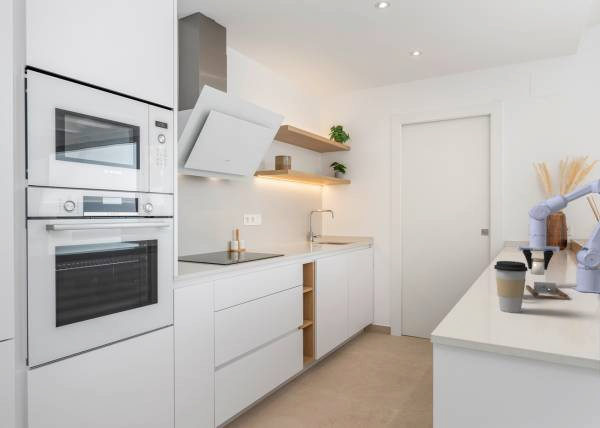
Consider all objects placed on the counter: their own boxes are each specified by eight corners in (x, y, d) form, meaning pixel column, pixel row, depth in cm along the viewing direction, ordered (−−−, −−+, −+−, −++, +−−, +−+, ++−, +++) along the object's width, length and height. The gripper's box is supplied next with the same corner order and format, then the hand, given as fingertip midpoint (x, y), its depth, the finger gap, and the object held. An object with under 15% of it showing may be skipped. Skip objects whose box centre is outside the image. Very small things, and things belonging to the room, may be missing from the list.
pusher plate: (555, 293, 151) (555, 282, 150) (561, 298, 143) (561, 287, 143) (533, 292, 153) (534, 281, 153) (539, 296, 145) (539, 285, 145)
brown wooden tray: (554, 290, 156) (555, 286, 156) (568, 300, 140) (568, 295, 140) (525, 288, 159) (525, 285, 159) (536, 297, 143) (536, 293, 143)
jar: (542, 273, 164) (543, 258, 163) (546, 275, 159) (546, 260, 159) (528, 272, 165) (529, 257, 165) (531, 274, 160) (532, 259, 160)
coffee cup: (533, 314, 122) (534, 265, 121) (501, 314, 122) (502, 264, 121) (517, 306, 131) (518, 260, 131) (488, 306, 131) (488, 260, 131)
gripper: (555, 234, 163) (555, 268, 163) (515, 234, 168) (515, 266, 168) (561, 236, 156) (560, 271, 157) (519, 235, 161) (518, 269, 161)
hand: (537, 269), depth 162 cm, fingers closed on jar, 5 cm apart
